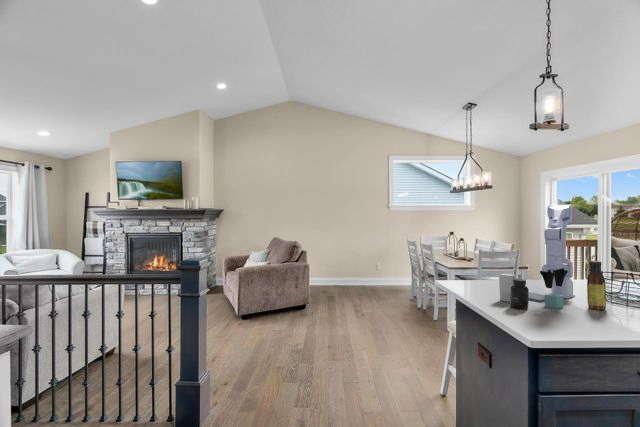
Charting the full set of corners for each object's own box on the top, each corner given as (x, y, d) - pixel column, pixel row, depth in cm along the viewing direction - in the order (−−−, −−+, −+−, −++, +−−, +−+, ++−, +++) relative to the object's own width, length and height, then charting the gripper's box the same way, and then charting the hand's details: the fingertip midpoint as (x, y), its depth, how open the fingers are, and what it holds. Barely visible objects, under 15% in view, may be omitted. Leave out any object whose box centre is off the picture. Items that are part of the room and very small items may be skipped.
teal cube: (551, 304, 161) (551, 293, 161) (563, 307, 157) (563, 295, 157) (544, 306, 159) (544, 294, 159) (556, 308, 155) (556, 296, 155)
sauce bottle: (609, 311, 150) (609, 262, 150) (592, 310, 151) (591, 262, 151) (600, 307, 156) (600, 260, 156) (584, 306, 158) (583, 260, 158)
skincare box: (517, 301, 167) (516, 274, 167) (512, 302, 164) (512, 275, 164) (503, 298, 172) (503, 273, 172) (498, 300, 169) (498, 274, 169)
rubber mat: (530, 294, 181) (530, 292, 181) (555, 299, 171) (555, 297, 171) (515, 297, 176) (515, 294, 176) (540, 302, 165) (540, 300, 165)
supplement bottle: (510, 308, 155) (510, 280, 155) (510, 305, 161) (510, 277, 161) (528, 310, 151) (528, 281, 151) (528, 306, 157) (528, 278, 157)
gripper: (553, 253, 165) (553, 283, 165) (534, 255, 158) (534, 287, 158) (570, 255, 159) (570, 286, 159) (551, 257, 152) (551, 290, 152)
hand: (553, 287), depth 158 cm, fingers open, 7 cm apart
